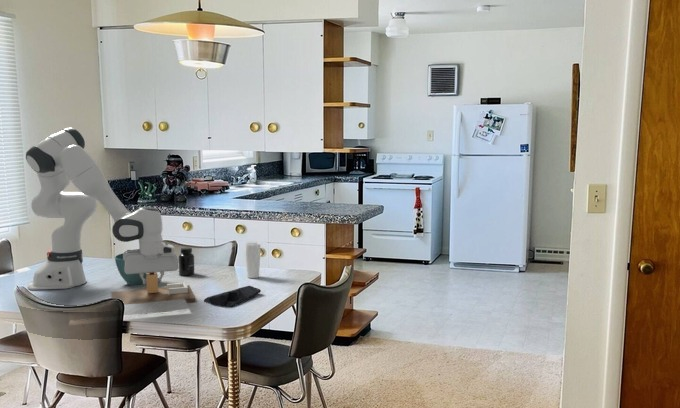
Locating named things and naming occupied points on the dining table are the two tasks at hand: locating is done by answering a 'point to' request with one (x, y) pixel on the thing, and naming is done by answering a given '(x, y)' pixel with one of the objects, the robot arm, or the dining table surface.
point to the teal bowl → (129, 278)
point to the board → (151, 296)
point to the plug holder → (177, 288)
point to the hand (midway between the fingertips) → (152, 283)
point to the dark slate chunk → (233, 296)
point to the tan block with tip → (152, 282)
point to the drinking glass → (252, 259)
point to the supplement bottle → (186, 262)
